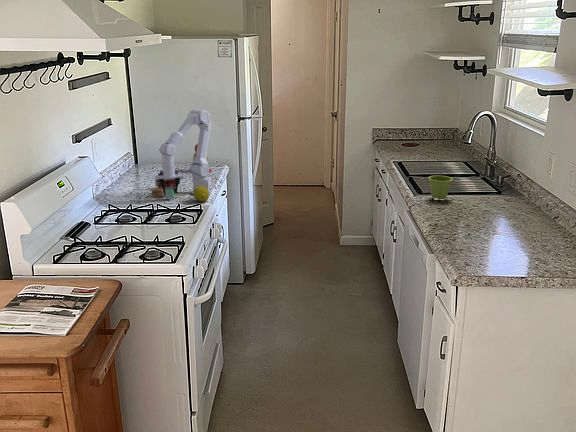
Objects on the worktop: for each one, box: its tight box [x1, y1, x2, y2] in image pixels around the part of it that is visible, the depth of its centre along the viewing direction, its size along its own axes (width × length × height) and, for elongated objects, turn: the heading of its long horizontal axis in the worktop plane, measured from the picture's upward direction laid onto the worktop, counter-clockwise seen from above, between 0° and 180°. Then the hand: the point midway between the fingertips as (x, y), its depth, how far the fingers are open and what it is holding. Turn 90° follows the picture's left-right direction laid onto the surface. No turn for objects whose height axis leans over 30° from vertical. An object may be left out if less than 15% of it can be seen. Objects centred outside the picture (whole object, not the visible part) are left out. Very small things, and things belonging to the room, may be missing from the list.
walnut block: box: [151, 187, 167, 199], centre depth 298 cm, size 6×6×4 cm
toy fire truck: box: [155, 169, 179, 188], centre depth 312 cm, size 7×12×10 cm, turn 91°
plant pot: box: [428, 175, 453, 199], centre depth 289 cm, size 12×12×11 cm
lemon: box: [193, 186, 210, 203], centre depth 287 cm, size 11×8×8 cm
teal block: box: [164, 187, 177, 198], centre depth 291 cm, size 4×4×4 cm
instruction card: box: [173, 193, 191, 199], centre depth 298 cm, size 8×6×1 cm
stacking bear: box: [192, 143, 213, 173], centre depth 352 cm, size 11×10×18 cm
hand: (170, 193), depth 291 cm, fingers closed on teal block, 5 cm apart
